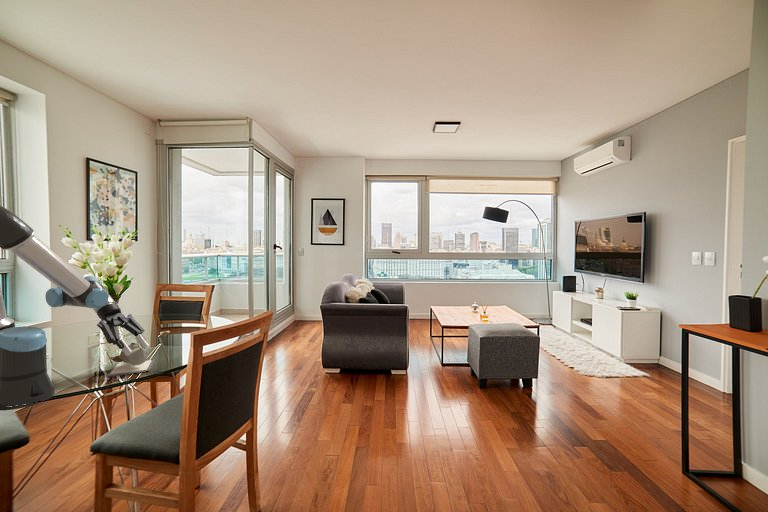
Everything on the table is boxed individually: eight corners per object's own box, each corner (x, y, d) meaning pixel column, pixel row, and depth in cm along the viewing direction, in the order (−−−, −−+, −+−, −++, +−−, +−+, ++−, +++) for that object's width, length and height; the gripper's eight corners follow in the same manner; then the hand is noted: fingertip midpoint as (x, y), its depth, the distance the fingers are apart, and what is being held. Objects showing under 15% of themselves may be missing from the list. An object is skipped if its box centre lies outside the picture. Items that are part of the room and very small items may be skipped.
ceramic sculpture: (127, 347, 143) (107, 343, 150) (128, 369, 143) (108, 364, 151) (155, 341, 152) (135, 338, 160) (156, 362, 153) (136, 357, 160)
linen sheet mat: (106, 376, 142) (106, 374, 142) (115, 364, 155) (115, 362, 155) (148, 372, 147) (148, 370, 147) (154, 360, 160) (154, 359, 160)
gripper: (123, 309, 163) (154, 349, 160) (75, 319, 144) (109, 364, 141) (133, 298, 162) (164, 338, 159) (86, 306, 142) (120, 352, 139)
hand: (138, 350), depth 150 cm, fingers closed on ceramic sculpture, 7 cm apart
